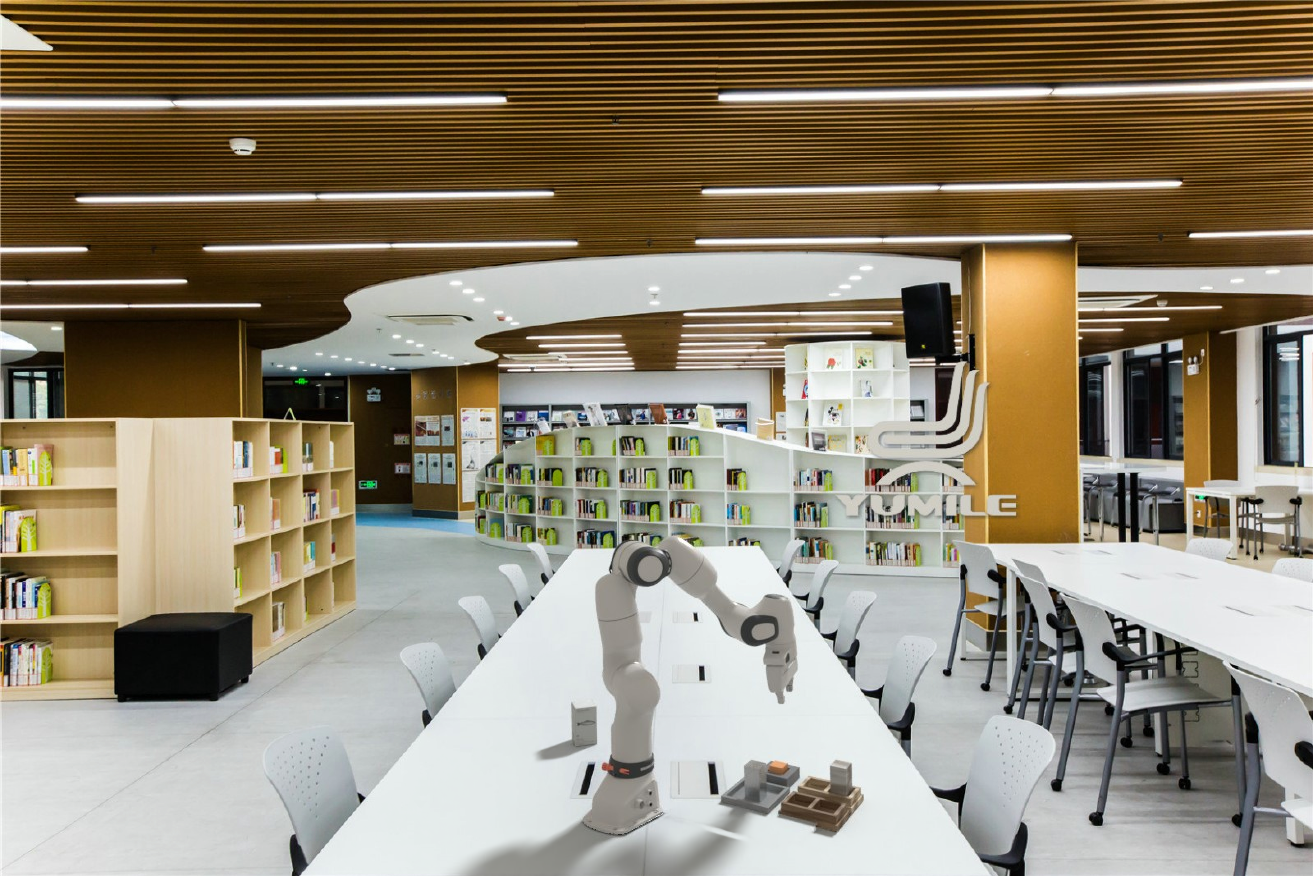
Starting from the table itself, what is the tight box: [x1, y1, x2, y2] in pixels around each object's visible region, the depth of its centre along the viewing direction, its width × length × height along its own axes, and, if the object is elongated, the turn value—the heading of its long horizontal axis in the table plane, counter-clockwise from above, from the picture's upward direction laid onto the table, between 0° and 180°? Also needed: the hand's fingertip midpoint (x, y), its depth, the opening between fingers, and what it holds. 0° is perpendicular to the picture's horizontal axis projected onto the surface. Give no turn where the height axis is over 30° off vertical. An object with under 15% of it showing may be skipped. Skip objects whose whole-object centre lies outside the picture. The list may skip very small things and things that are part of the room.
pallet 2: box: [777, 790, 851, 833], centre depth 210 cm, size 10×16×4 cm, turn 57°
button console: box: [766, 760, 801, 788], centre depth 230 cm, size 9×9×4 cm
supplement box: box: [570, 699, 598, 747], centre depth 265 cm, size 7×7×13 cm
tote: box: [720, 776, 791, 815], centre depth 220 cm, size 14×14×2 cm
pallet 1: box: [797, 759, 865, 815], centre depth 220 cm, size 10×16×10 cm, turn 57°
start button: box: [769, 760, 789, 775], centre depth 230 cm, size 4×4×3 cm
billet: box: [743, 759, 767, 802], centre depth 220 cm, size 4×5×9 cm
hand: (785, 697), depth 233 cm, fingers open, 8 cm apart
